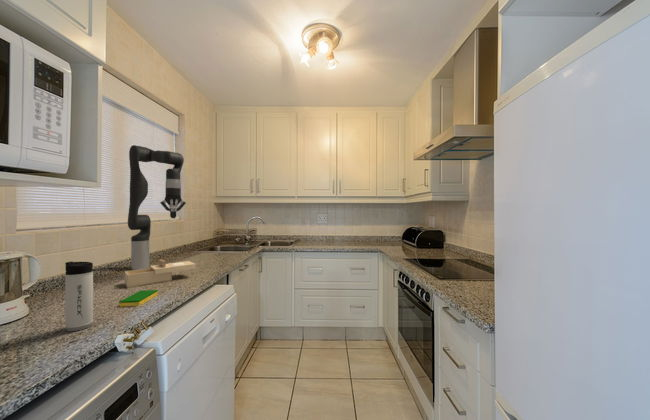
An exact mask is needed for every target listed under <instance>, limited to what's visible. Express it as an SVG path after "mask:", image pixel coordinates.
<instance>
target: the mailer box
mask: <svg viewBox="0 0 650 420" xmlns="http://www.w3.org/2000/svg"><path fill="white" fill-rule="evenodd" d="M172 274H173V273H172V272H167V273H160V274H155V271H154V270H153V269H152V268H150V267H149V268H146V269H140V270H126V271H124V285H125V286H126V287H127V289H131V288H137V287H142V286H148V285H149V286H150V285H154V284H155V285H156V284H160V283H167V282H171V281H172V280H173V279H172V276H173V275H172Z"/></svg>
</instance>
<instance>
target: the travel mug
mask: <svg viewBox="0 0 650 420" xmlns="http://www.w3.org/2000/svg"><path fill="white" fill-rule="evenodd" d="M64 263H65V274H64V276H65V278H64V279H65V282H64V284H65V286H64V287H65V291H64V292H65V293H64V294H65V298H64V300H65V304H64V305H65V308H64V309H65V310H64V311H65V313H64V314H65V317H64V318H65V331H67V332H76V331H77V332H78V330H79V331H82V329H83V330H86V329H88V328H90V327H92V326H93V325H94V270H93V268H94V264H93V262H90V261H67V262H66V261H65V262H64ZM85 328H86V329H85Z"/></svg>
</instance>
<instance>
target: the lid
mask: <svg viewBox="0 0 650 420" xmlns="http://www.w3.org/2000/svg"><path fill="white" fill-rule="evenodd" d="M149 268H152V269H153V270H154V271H155V274H160V273H167V272H173V273H174V272H181V271H187V270H194V269H196V268H197V267H196V263H194V262H192V261H189V260H187V261H179V262H170V263H166V260H164V259H161V258H160V259H158V264H156V265H149Z"/></svg>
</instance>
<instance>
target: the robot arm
mask: <svg viewBox="0 0 650 420" xmlns="http://www.w3.org/2000/svg"><path fill="white" fill-rule="evenodd" d="M128 155H129V156H128V157H129V158H128V160H129V170H130V172H129V173H130V174H129V175H130V176H129V205H128V206H129V207H128V215H127V227H128V229H129V230H130V231H131V230H132V231H139V232H138V233H136V234H134V235H132V236H131V237H130V240H131V241H130V242H131V244H130V245H131V248H130V251H131V252H130V253H131V254H130V255H131V256H130V257H131V258H130V259H131V261H130V265H131V266H130V269H131V271H133V270H140V269H148V268H150V237H151V226H152V225H151V223H152V222H151V217H150V216H149V215H148V214H139V209H140V206H141V204H142V203H143V202H144V201H145V200H146V198H147V196H148V193H149V182H148V180H147V178H146V177H145V176H144V174H143V172H142V170H141V168H140V163H141V162H142V163H149V162H150V163H151V162H155V163H160V164H166V165H172V166H173V168H167V169H166V170H165V198H164V199H163V200H161V201H160V204H161V206H162V207H163V208H164V209H165V210H166V211H168V212H169V217H170V218H171V219H176V218H177V212H178V211H181V209H182V208H183V207H184V206H185V205H186V201H183V199H182V184H181V183H182V182H181V171H182V169H183V165H184V162H185V161H184V160H185V159H184V156H183V155H182V153H179V152H174V151H168V150H153V149H152V148H149V147H147V146H146V147H145V146H141V145H135V144H133V145H131V146H130V148H129V151H128ZM179 204H180V205H179Z"/></svg>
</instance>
